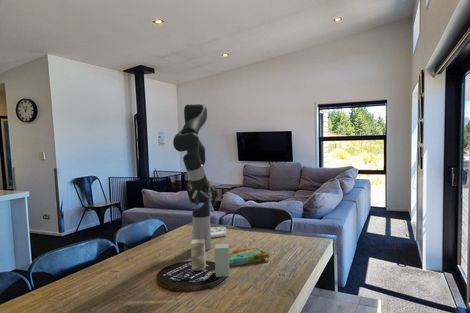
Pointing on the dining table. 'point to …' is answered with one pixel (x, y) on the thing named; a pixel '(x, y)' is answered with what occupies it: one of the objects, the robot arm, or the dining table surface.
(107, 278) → the dining table surface
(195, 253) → the birch block
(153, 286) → the dining table surface
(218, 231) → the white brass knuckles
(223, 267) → the sage block
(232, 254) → the puzzle game
